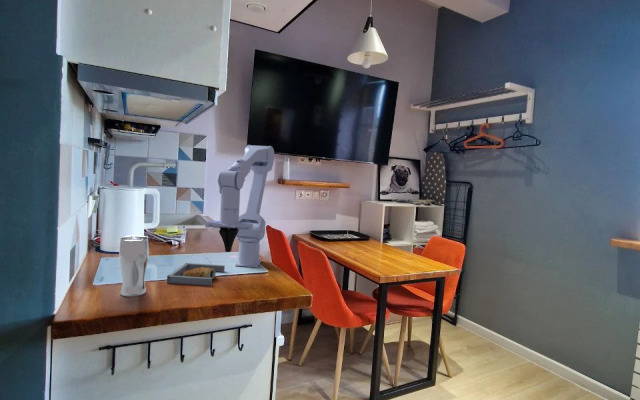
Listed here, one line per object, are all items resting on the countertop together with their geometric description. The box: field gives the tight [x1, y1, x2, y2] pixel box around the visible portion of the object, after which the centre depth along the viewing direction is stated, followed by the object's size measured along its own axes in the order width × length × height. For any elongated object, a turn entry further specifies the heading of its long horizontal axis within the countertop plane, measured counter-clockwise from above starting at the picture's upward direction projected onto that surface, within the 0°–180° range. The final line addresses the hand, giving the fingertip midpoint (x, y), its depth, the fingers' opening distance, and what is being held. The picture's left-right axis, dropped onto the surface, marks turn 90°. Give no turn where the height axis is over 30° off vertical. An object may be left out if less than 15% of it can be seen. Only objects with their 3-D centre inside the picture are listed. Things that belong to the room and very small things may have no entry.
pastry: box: [182, 267, 216, 280], centre depth 113 cm, size 9×7×4 cm
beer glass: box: [118, 235, 150, 298], centre depth 97 cm, size 7×7×15 cm
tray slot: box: [166, 262, 225, 287], centre depth 115 cm, size 15×13×2 cm
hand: (228, 251), depth 115 cm, fingers closed
